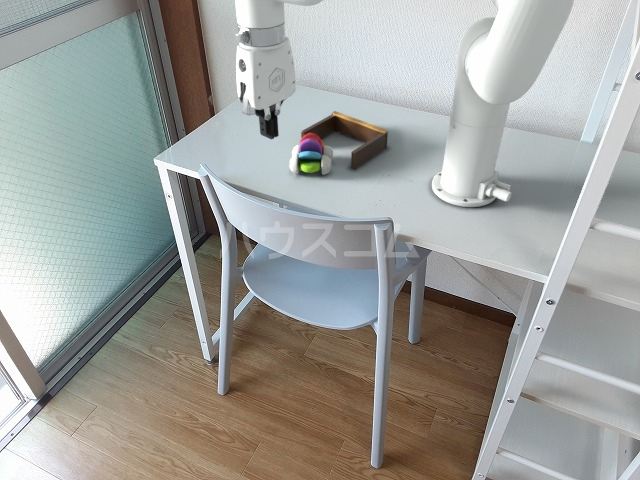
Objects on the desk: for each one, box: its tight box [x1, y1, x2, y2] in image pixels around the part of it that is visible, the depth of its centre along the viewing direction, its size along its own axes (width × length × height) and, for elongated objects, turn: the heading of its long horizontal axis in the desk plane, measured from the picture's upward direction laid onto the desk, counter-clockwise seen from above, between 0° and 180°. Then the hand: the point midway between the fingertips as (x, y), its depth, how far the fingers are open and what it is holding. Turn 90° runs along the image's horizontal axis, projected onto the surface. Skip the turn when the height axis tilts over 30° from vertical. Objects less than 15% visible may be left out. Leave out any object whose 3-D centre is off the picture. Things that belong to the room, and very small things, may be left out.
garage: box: [300, 110, 389, 171], centre depth 113 cm, size 15×12×4 cm
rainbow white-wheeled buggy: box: [289, 133, 334, 176], centre depth 106 cm, size 8×10×7 cm
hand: (269, 135), depth 95 cm, fingers closed
